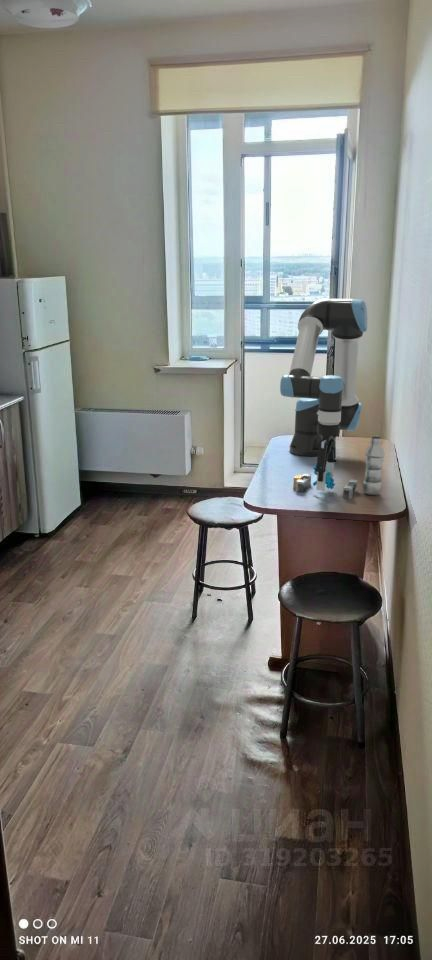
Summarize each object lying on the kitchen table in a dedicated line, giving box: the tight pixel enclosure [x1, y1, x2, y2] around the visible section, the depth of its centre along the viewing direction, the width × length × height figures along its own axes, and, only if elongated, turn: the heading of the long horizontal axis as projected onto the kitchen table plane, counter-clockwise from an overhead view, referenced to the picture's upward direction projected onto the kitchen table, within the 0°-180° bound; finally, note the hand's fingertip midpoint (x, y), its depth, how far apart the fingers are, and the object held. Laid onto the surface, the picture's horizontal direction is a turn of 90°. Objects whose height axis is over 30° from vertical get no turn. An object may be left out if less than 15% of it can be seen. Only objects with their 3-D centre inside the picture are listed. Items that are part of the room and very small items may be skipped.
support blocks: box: [292, 473, 358, 500], centre depth 237 cm, size 10×21×4 cm, turn 67°
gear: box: [312, 463, 336, 490], centre depth 233 cm, size 11×6×10 cm
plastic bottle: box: [362, 436, 386, 496], centre depth 232 cm, size 6×7×20 cm
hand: (324, 485), depth 233 cm, fingers closed on gear, 11 cm apart
